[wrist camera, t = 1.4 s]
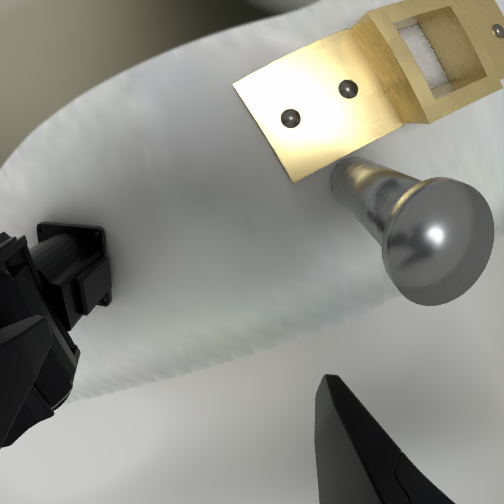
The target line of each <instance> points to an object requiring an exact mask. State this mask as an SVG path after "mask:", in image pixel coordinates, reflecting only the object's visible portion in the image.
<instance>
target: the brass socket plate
mask: <svg viewBox="0 0 504 504" xmlns="http://www.w3.org/2000/svg"><path fill="white" fill-rule="evenodd" d="M416 24H419V26H420V27H421V29H422V31H423V32H424V34H425V36H426V37H427V39H428V41H429V43H430V44H431V46H432V48H433V50H434V52H435V54H436V55H437V57H438V59H439V61H440V63H441V65H442V67H443V69H444V71H445V73H446V75H447V77H448V79H449V81H450V82H448V83H446V84H443V85H441V86H439V87H436V88H434V89H432V90H430V88H429V86H428V84H427V82H426V80H425V78H424V76H423V74H422V72H421V70H420V69H419V67H418V65H417V63H416V61H415V59H414V57H413V56H412V54H411V52H410V50H409V49H408V47H407V45H406V44H405V42H404V40H403V39H402V37H401V35H400V34H399V32H398V30H401V29H404V28H407V27H410V26H413V25H416ZM503 78H504V16H503V14H502V12H501V11H500V9H499V7H498V5H497V4H496V2H495V0H404V1H401V2H397V3H394V4H391V5H387V6H384V7H381V8H378V9H375V10H372V11H369V12H367V13H366V14H365V15H364V16H363V17H362V18H361V19H360V20H359V21H358V22H357V23H356V24H355V25H354V27H353V28H352V29H351V30H350V31H349V30H348V28H347V29H345V30H342V31H340V32H337V33H335V34H333V35H330V36H328V37H326V38H323V39H321V40H319V41H316V42H314V43H312V44H310V45H308V46H305V47H303V48H301V49H299V50H297V51H295V52H293V53H291V54H289V55H287V56H285V57H283V58H281V59H279V60H277V61H275V62H273V63H271V64H269V65H267V66H265V67H263V68H262V69H260V70H258V71H256V72H254V73H252V74H251V75H249V76H247V77H245V78H243V79H242V80H240V81H238V82H236V83H235V84H233V86H234V87H235V89H236V90H237V92H238V93H239V95H240V96H241V98H242V99H243V101H244V102H245V104H246V106H247V107H248V109H249V110H250V112H251V113H252V115H253V117H254V118H255V120H256V121H257V123H258V124H259V126H260V128H261V129H262V131H263V133H264V134H265V136H266V137H267V139H268V141H269V142H270V144H271V146H272V147H273V149H274V151H275V152H276V154H277V156H278V157H279V159H280V161H281V162H282V164H283V166H284V167H285V169H286V171H287V173H288V174H289V176H290V178H291V179H292V181H293V183H296V182H297V181H299V180H301V179H303V178H305V177H307V176H308V175H310V174H312V173H314V172H316V171H318V170H319V169H321V168H323V167H325V166H327V165H329V164H331V163H332V162H334V161H336V160H338V159H340V158H342V157H344V156H346V155H347V154H349V153H351V152H353V151H355V150H357V149H359V148H361V147H363V146H365V145H366V144H368V143H370V142H372V141H374V140H376V139H378V138H380V137H382V136H384V135H386V134H388V133H390V132H392V131H394V130H396V129H398V128H400V127H402V126H403V125H402V123H421V124H430V123H432V122H434V121H436V120H438V119H440V118H442V117H444V116H446V115H448V114H450V113H452V112H454V111H456V110H458V109H460V108H462V107H464V106H466V105H468V104H470V103H473V102H475V101H477V100H479V99H481V98H483V97H485V96H487V95H489V94H491V93H493V92H495V91H498V90H500V89H502V88H503V87H502V84H501V82H500V80H501V79H503Z"/></svg>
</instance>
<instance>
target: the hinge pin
mask: <svg viewBox="0 0 504 504" xmlns="http://www.w3.org/2000/svg"><path fill="white" fill-rule="evenodd" d="M331 187H332V191H333V193H334V195H335V196H336V197H337V199H338V200H339V201H340V202H341V203H342V204H343V205H344V206H345V207H346V208H347V209H348V210H349V211H350V212H351V213H352V214H353V215H354V216H355V217H356V219H357V220H358V221H359V222H360V223H361V224H362V225H363V226H364V227H365V228H366V229H367V230H368V232H369V233H370V234H371V235H372V236H373V237H374V238H375V239H376V240H377V242H378V243H379V244H380V245H381V246H382V258H383V263H384V266H385V269H386V272H387V274H388V276H389V277H390V279H391V280H392V281H393V283H394V284H395V286H396V287H397V288H398V290H399V291H400V293H401V294H403V295H404V296H405V297H406V298H407V299H409V300H410V301H412V302H414V303H416V304H420V305H425V306H436V305H441V304H445V303H448V302H450V301H452V300H454V299H456V298H458V297H459V296H461V295H462V294H464V293H465V292H466V291H467V290H468V289H469V288H471V287H472V285H473V284H474V283H475V282H476V281H477V280H478V278H479V277H480V275H481V274H482V272H483V270H484V269H485V267H486V265H487V263H488V260H489V258H490V255H491V251H492V247H493V241H494V222H493V217H492V213H491V210H490V208H489V205H488V203H487V202H486V200H485V198H484V197H483V196H482V195H481V194H480V192H478V191H477V190H476V189H475V188H473V187H472V186H470V185H468V184H465V183H462V182H460V181H457V180H454V179H452V178H446V177H436V178H431V179H427V180H424V181H420V180H418V179H415V178H413V177H410V176H408V175H405V174H403V173H400V172H398V171H395V170H393V169H390V168H387V167H385V166H382V165H379V164H376V163H374V162H371V161H368V160H365V159H362V158H359V157H351V158H347V159H344V160H343V161H341V162H340V163H339V164H338V165H337V166H336V167H335V169H334V171H333V173H332V176H331Z"/></svg>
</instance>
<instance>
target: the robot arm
mask: <svg viewBox="0 0 504 504" xmlns="http://www.w3.org/2000/svg"><path fill="white" fill-rule="evenodd" d="M42 228H43V230H42ZM96 232H98V233H99V237H98V236H97V235H96ZM37 235H38V242H39V244H37V245H36V246H34V247H33V248H31V249H30V250H29V249H28V247H27V240H26V237H25V235H23V236H21V237H19V238H16V236H15V237H10V236H9V235H7V234H6V233H5V232H2V233H0V449H1V448H2V447H7V446H10V445H12V444H13V443H14V442H15V441H16V440H17V439H18V438H19V437H20V436H21V435H22V434H23V433H24V432H25V431H27V430H28V429H29V428H30V427H32V426H33V425H35V424H37V423H38V422H40V421H42V420H45V419H47V418H50V417H52V416H53V415H54V410H56V409H57V408H58V407H60V406H61V405H62V404H63V403H64V402H65V400H66V399H67V398H68V396H69V394H70V392H71V390H72V387H73V380H74V376H75V372H76V368H77V364H78V360H79V356H80V353H81V352H80V350H79V348H78V347H77V345H75V344H74V342H73V341H72V339H71V337H70V335H69V334H68V332H67V331H70V330H71V329H72V328H73V327H74V326H75V324H76V323H77V322H78V321H79V319H80V318H81V317H82V316H83V315H85V316H87V315H88V314H89V313H90V312H91V311H92V309H93V308H94V307H95V306H96V305H100V306H109V304H110V303H111V292H110V288H111V280H110V271H109V261H108V257H107V256H106V246H105V234H104V231H103V229H102V228H100V227H94V226H83V225H72V224H61V223H49V222H41V223H39V224H38V225H37ZM104 299H106V301H105V300H104ZM315 453H316V465H317V476H318V487H319V501H320V504H455V503H454V502H453V501H452V500H451V499H449V498H448V497H447V496H446V495H445V494H444V493H443V492H442V491H441V490H439V489H438V488H437V487H436V486H435V485H434V484H433V483H432V482H431V481H430V480H429V479H428V478H426V477H425V476H424V475H423V474H422V473H421V472H420V471H419V470H418V469H417V467H416V466H415V465H414V464H413V463H412V462H411V461H410V460H409V459H408V457H407V456H406V455H405V454H404V453H403V452H401V449H400V448H399V447H398V446H397V445H396V443H395V442H394V441H393V440H392V439H391V438H390V436H389V435H388V434H387V433H386V432H385V430H384V429H383V428H382V427H381V426H380V425H379V423H378V422H377V421H376V420H375V419H374V417H373V416H372V415H371V414H370V413H369V412H368V410H367V409H366V408H365V407H364V406H363V405H362V403H361V402H360V401H359V400H358V398H357V397H356V396H355V395H354V394H353V392H352V391H351V390H350V389H349V388H348V386H347V385H346V384H345V383H344V382H343V381H342V379H341V378H340V377H339V376H338V375H332V374H325V375H324V376H323V378H322V380H321V383H320V385H319V388H318V390H317V393H316V398H315Z"/></svg>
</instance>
